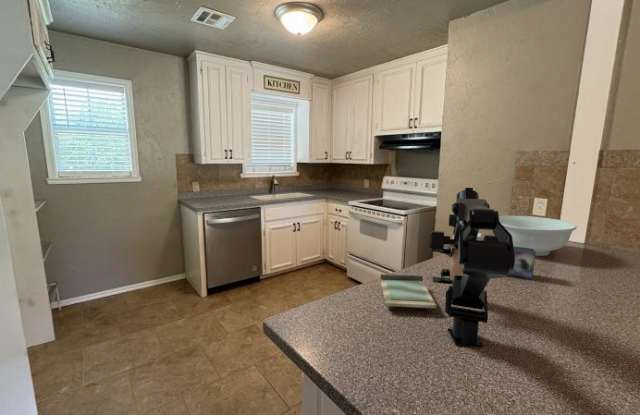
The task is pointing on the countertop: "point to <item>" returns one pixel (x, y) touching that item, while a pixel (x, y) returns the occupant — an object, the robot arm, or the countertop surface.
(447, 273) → the dark piece
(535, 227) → the bowl
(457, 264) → the canister
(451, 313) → the robot arm
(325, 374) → the countertop surface
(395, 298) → the mint green tray
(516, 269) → the small box
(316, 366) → the countertop surface
